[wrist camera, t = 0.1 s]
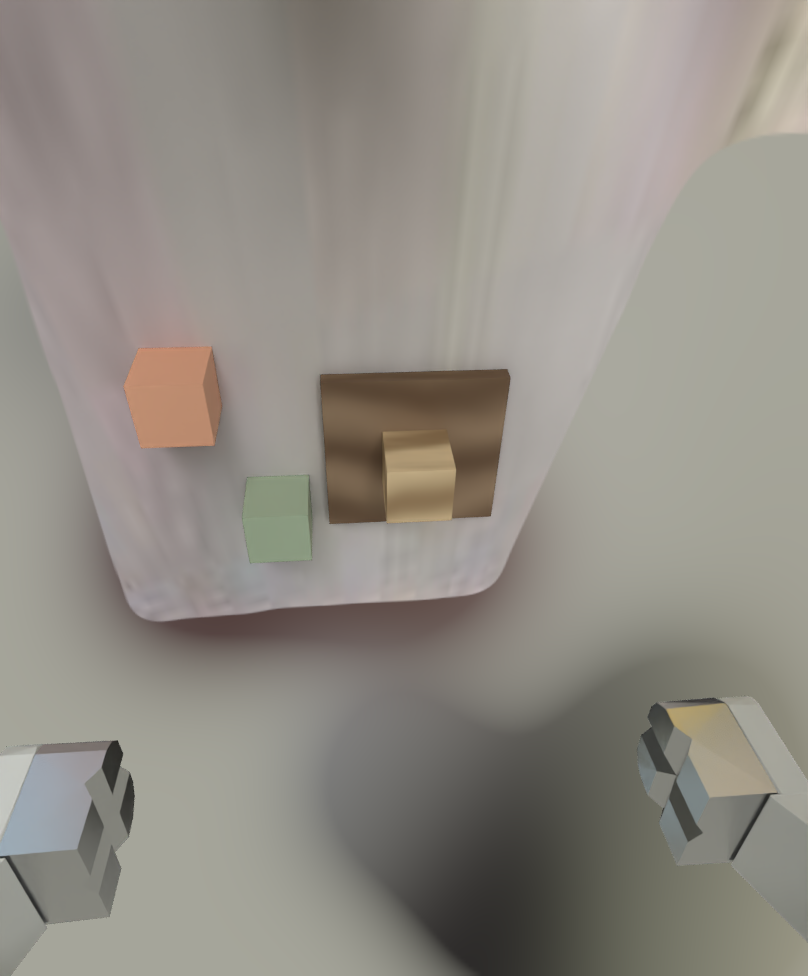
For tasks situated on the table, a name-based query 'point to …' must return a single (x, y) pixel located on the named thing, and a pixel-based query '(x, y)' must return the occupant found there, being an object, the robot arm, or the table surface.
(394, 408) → the walnut board
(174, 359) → the terracotta block
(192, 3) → the table surface
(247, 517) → the sage block
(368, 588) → the table surface
